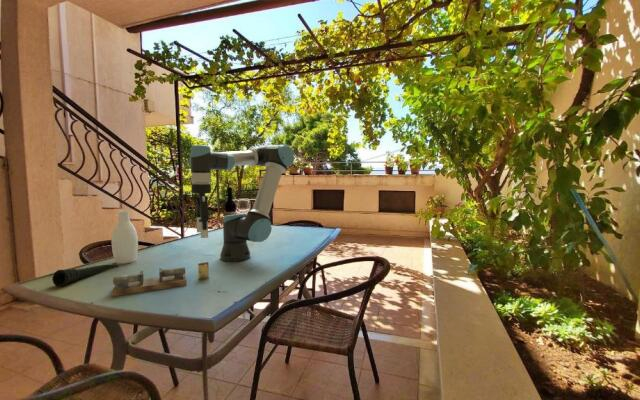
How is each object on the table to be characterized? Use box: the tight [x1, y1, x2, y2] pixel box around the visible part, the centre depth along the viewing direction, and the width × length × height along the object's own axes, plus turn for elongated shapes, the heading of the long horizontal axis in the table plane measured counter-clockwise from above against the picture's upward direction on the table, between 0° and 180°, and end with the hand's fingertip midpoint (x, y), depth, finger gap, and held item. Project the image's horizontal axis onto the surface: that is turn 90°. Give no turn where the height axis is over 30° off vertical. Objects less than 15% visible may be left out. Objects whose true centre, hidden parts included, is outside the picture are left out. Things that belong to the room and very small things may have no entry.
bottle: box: [110, 209, 139, 265], centre depth 148 cm, size 11×11×25 cm
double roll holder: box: [111, 266, 188, 297], centre depth 115 cm, size 24×9×6 cm, turn 118°
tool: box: [51, 264, 119, 288], centre depth 128 cm, size 28×6×7 cm, turn 168°
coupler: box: [197, 261, 210, 281], centre depth 125 cm, size 4×4×7 cm
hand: (202, 234), depth 124 cm, fingers open, 13 cm apart
